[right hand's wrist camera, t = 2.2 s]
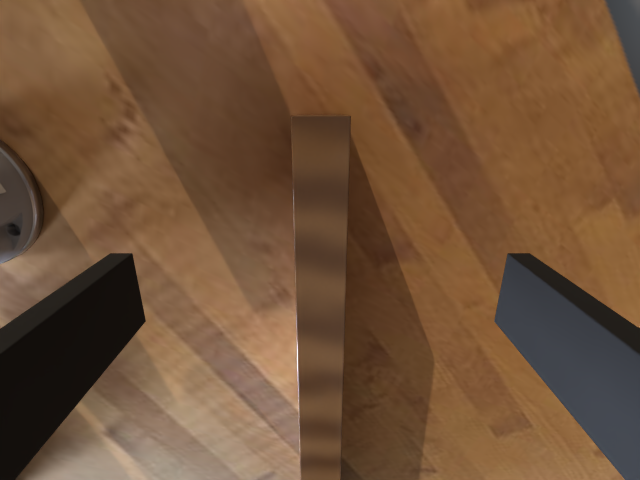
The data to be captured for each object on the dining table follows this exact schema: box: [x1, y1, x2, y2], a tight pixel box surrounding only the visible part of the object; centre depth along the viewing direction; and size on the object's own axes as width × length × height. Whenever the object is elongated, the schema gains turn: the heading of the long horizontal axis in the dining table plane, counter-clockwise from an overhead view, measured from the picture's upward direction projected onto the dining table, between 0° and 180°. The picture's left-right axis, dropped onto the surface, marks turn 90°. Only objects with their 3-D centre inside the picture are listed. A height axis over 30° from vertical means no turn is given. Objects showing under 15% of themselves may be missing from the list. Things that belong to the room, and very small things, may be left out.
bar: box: [291, 115, 351, 480], centre depth 42 cm, size 62×5×8 cm, turn 0°
